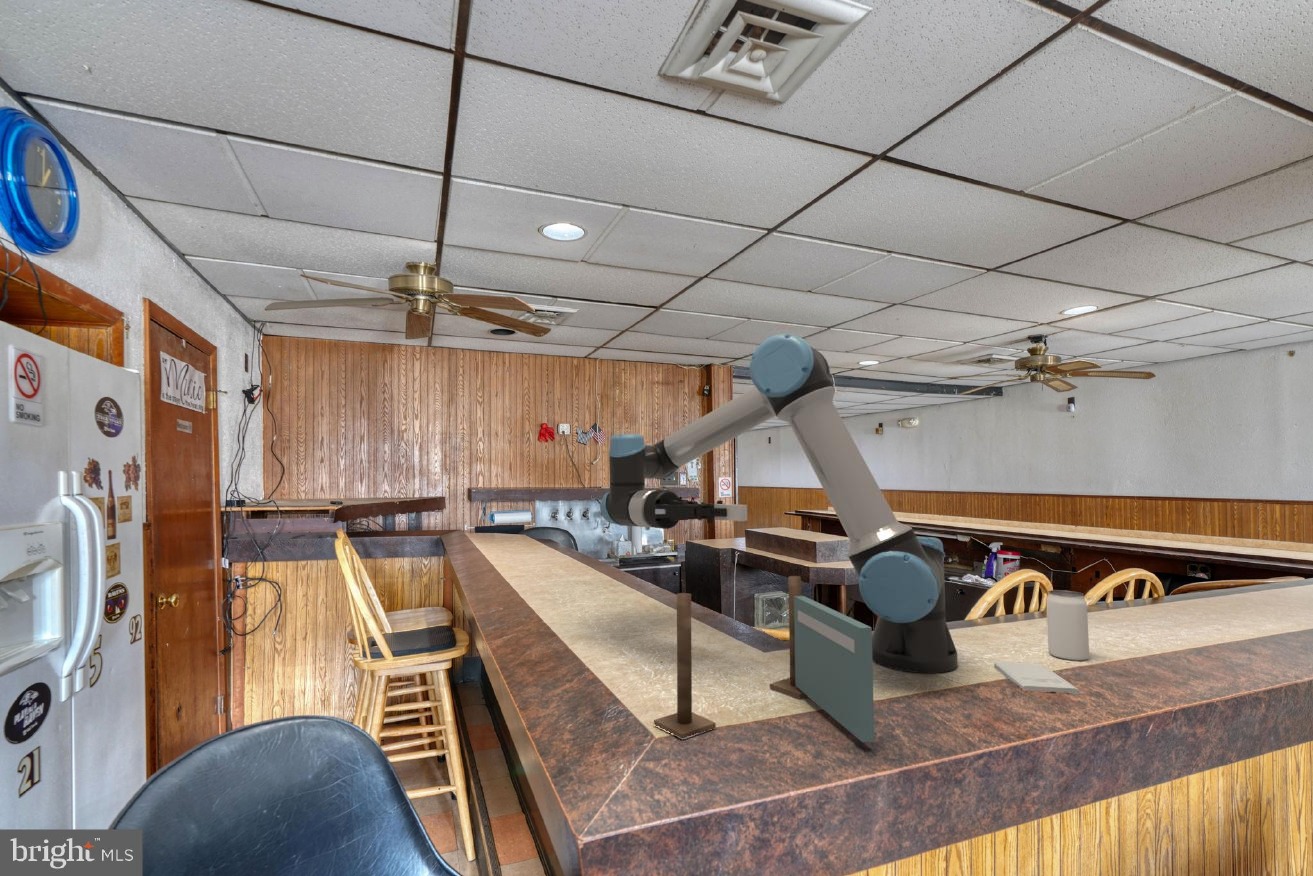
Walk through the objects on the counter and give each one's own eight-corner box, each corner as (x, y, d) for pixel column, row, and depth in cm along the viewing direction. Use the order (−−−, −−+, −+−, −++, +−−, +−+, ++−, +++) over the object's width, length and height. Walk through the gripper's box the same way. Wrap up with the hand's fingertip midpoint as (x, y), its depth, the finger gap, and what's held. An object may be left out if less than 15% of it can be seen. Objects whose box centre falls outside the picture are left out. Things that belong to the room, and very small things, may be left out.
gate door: (795, 685, 96) (793, 596, 97) (805, 685, 97) (803, 595, 97) (862, 742, 76) (859, 628, 77) (874, 741, 76) (871, 627, 77)
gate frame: (793, 681, 102) (792, 572, 103) (823, 690, 97) (821, 577, 98) (653, 726, 84) (653, 593, 85) (682, 740, 79) (681, 600, 80)
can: (1097, 661, 112) (1094, 596, 113) (1062, 661, 113) (1059, 596, 113) (1074, 651, 119) (1071, 589, 120) (1041, 651, 119) (1038, 589, 120)
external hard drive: (1044, 673, 108) (1079, 698, 95) (994, 670, 109) (1023, 695, 97) (1043, 664, 108) (1079, 687, 96) (993, 661, 109) (1022, 684, 97)
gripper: (680, 526, 126) (769, 532, 107) (630, 529, 117) (717, 537, 99) (680, 489, 126) (768, 490, 108) (630, 491, 118) (716, 491, 100)
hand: (744, 513), depth 104 cm, fingers closed
